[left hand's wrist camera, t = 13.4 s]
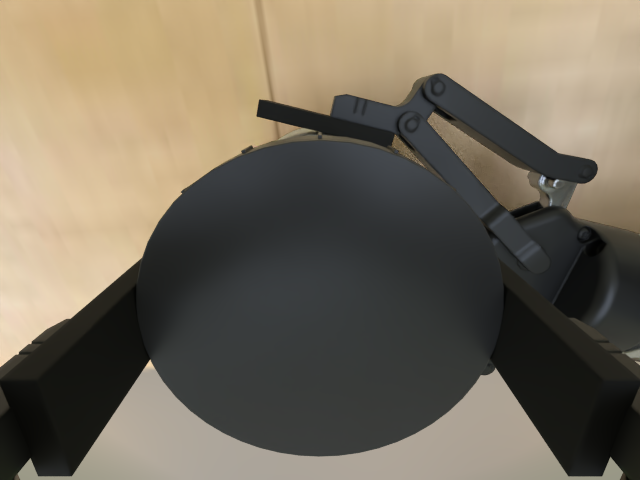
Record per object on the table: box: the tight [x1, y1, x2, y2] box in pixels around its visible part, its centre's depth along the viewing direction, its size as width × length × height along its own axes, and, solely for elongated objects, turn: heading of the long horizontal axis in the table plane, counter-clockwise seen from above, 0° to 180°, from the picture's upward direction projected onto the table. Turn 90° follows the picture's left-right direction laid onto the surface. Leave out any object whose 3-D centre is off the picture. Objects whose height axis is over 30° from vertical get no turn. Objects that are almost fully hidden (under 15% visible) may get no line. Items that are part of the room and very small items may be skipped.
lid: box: [136, 132, 504, 456], centre depth 12 cm, size 11×11×2 cm
